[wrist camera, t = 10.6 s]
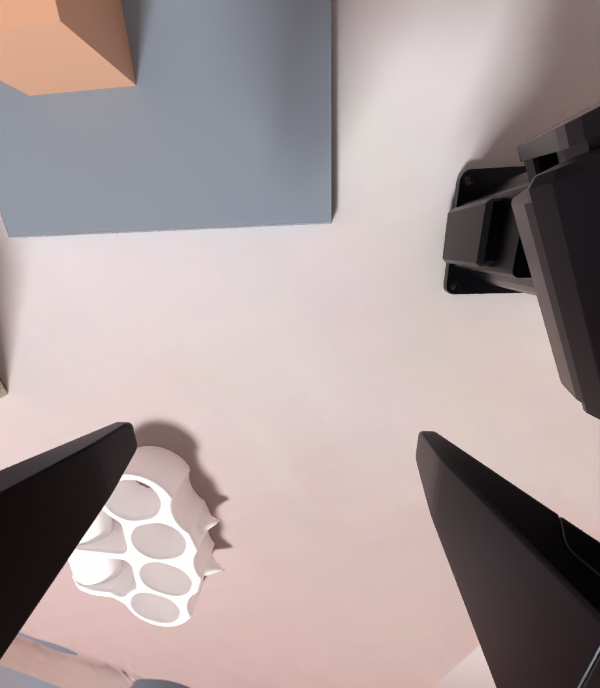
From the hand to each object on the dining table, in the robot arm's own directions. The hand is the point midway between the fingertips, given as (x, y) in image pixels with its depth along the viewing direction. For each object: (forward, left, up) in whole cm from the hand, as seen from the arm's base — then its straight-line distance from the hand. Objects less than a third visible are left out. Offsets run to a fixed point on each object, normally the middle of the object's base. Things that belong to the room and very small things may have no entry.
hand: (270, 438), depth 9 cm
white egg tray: (+15, +18, -12) cm, 26 cm away
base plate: (+8, -15, -11) cm, 20 cm away
